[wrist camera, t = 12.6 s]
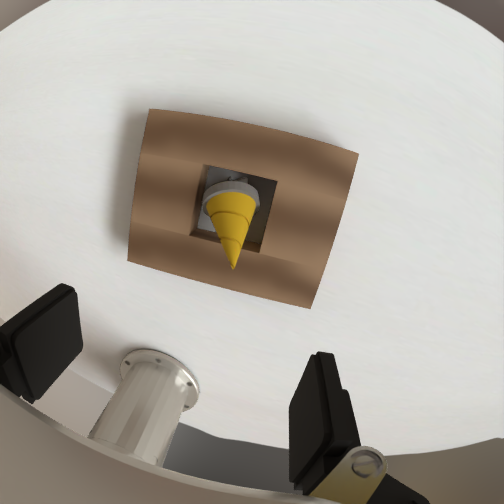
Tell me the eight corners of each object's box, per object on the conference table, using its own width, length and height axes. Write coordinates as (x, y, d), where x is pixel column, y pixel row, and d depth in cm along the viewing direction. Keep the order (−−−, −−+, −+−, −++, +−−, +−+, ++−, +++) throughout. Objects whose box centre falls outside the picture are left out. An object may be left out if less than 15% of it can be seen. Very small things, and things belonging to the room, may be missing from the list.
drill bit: (268, 174, 28) (278, 266, 24) (232, 198, 32) (236, 283, 27) (227, 149, 25) (229, 249, 20) (193, 179, 28) (188, 271, 24)
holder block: (307, 295, 31) (310, 309, 29) (139, 252, 32) (127, 260, 29) (350, 153, 26) (359, 153, 23) (161, 112, 26) (149, 108, 24)
